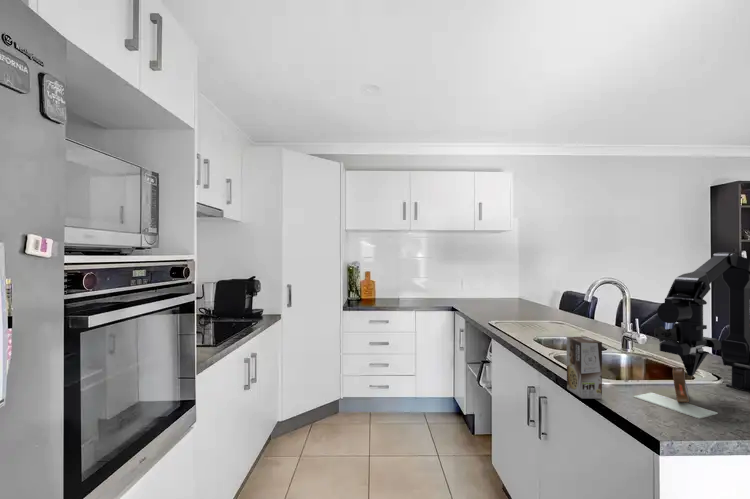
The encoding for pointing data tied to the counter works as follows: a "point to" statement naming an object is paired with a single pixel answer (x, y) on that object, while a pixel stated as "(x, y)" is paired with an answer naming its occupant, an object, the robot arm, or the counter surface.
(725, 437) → the counter surface
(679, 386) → the tin
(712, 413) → the mat
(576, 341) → the coffee box
